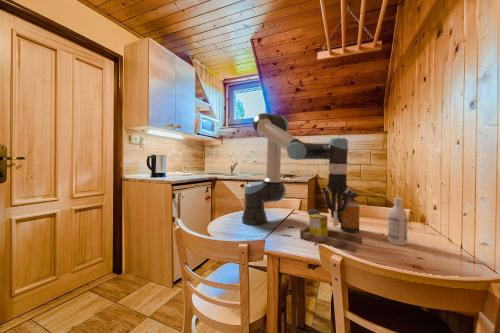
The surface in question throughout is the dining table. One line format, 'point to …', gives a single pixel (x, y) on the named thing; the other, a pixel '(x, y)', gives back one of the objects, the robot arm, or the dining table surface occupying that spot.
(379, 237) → the dining table surface
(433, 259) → the dining table surface
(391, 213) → the bath foam
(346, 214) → the canister
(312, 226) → the supplement box
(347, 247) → the bay
